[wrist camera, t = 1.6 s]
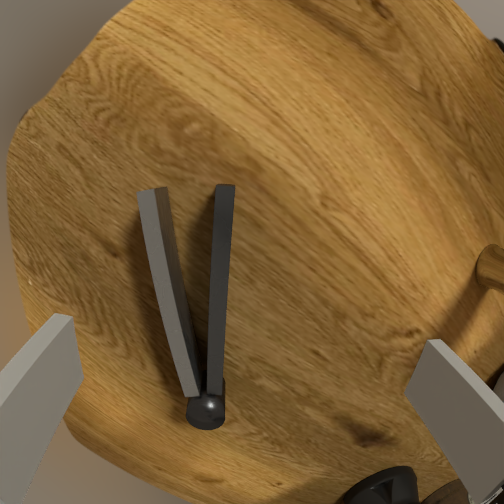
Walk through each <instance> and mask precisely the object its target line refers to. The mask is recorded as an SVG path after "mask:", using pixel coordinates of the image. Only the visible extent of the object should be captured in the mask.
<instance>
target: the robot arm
mask: <svg viewBox="0 0 504 504" xmlns="http://www.w3.org/2000/svg"><path fill="white" fill-rule="evenodd" d="M83 379H84V376H83V371H82V367H81V362H80V357H79V352H78V346H77V341H76V335H75V329H74V322H73V317H72V316H67V315H62V314H57V313H54V314H53V315H52V316H51V318H50V319H49V320H48V321H47V322H46V323H45V324H44V325H43V326H42V327H41V328H40V329H39V330H38V331H37V332H36V333H35V334H34V335H33V336H32V337H31V338H30V340H29V341H28V342H27V343H26V344H25V345H24V346H23V347H22V348H21V349H20V351H19V352H18V353H17V354H16V355H15V356H14V357H13V358H12V359H11V361H10V362H9V363H8V364H7V365H6V367H5V368H4V369H3V370H2V371H1V372H0V504H22V503H23V500H24V498H25V496H26V493H27V491H28V489H29V486H30V484H31V482H32V479H33V477H34V475H35V473H36V471H37V468H38V466H39V464H40V462H41V460H42V458H43V456H44V453H45V451H46V449H47V447H48V445H49V443H50V441H51V439H52V437H53V435H54V433H55V431H56V429H57V427H58V425H59V423H60V421H61V420H62V418H63V416H64V414H65V412H66V410H67V408H68V406H69V404H70V403H71V401H72V399H73V397H74V395H75V393H76V392H77V390H78V388H79V386H80V384H81V383H82V381H83ZM404 394H405V395H406V397H407V398H408V400H409V401H410V403H411V404H412V406H413V407H414V409H415V410H416V412H417V413H418V415H419V416H420V418H421V419H422V420H423V422H424V424H425V425H426V427H427V428H428V430H429V431H430V433H431V434H432V436H433V437H434V439H435V440H436V442H437V443H438V445H439V446H440V448H441V450H442V451H443V453H444V454H445V456H446V457H447V459H448V460H449V462H450V464H451V465H452V467H453V468H454V470H455V472H456V473H457V475H458V476H459V478H460V480H461V481H462V483H463V485H464V486H465V488H466V489H467V491H468V493H469V494H470V496H471V498H472V499H473V501H474V503H475V504H480V503H482V502H484V501H485V500H487V499H489V498H490V497H491V496H492V495H493V494H494V493H495V492H497V491H498V490H499V488H500V487H502V489H503V491H502V492H501V493H500V494H499V495H498V496H497V497H496V498H495V499H494V500H492V501H491V502H490V503H489V504H496V503H498V504H504V402H503V401H502V400H500V398H499V397H498V396H497V395H496V394H495V393H494V392H493V391H492V390H491V389H490V388H489V387H488V386H487V385H486V384H485V383H484V382H483V381H482V380H481V379H480V378H479V377H478V376H477V375H476V374H475V373H474V371H473V370H472V369H471V368H470V367H469V366H468V365H467V364H466V363H465V362H464V361H463V360H462V359H460V358H459V357H458V356H457V355H456V354H455V353H454V352H453V351H452V350H451V349H450V348H449V347H448V346H447V345H446V344H445V343H444V342H443V341H442V340H441V339H434V340H427V342H426V344H425V347H424V349H423V352H422V354H421V356H420V359H419V361H418V363H417V366H416V368H415V370H414V373H413V375H412V377H411V379H410V381H409V383H408V386H407V388H406V390H405V392H404ZM344 503H345V504H420V502H419V497H418V487H417V477H416V475H415V473H414V471H413V469H412V468H411V467H408V466H398V467H393V468H390V469H387V470H384V471H381V472H379V473H376V474H374V475H372V476H370V477H368V478H366V479H364V480H363V481H361V482H360V483H358V484H357V485H355V486H354V487H353V488H352V489H350V490H349V491H348V492H347V494H346V495H345V497H344Z"/></svg>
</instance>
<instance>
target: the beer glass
mask: <svg viewBox="0 0 504 504" xmlns="http://www.w3.org/2000/svg"><path fill="white" fill-rule="evenodd" d="M476 278H477V281H478V283H479V284H480V285H481V286H483V287H485V288H490V289H494V290H496V291H498V292H500V293H501V294H503V295H504V249H503V248H501V247H500V246H498V245H496V244H491V245H488V246H487V247H486V248H485V249H484V250H483V251H482V253H481V255H480V257H479V259H478V262H477V266H476Z"/></svg>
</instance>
